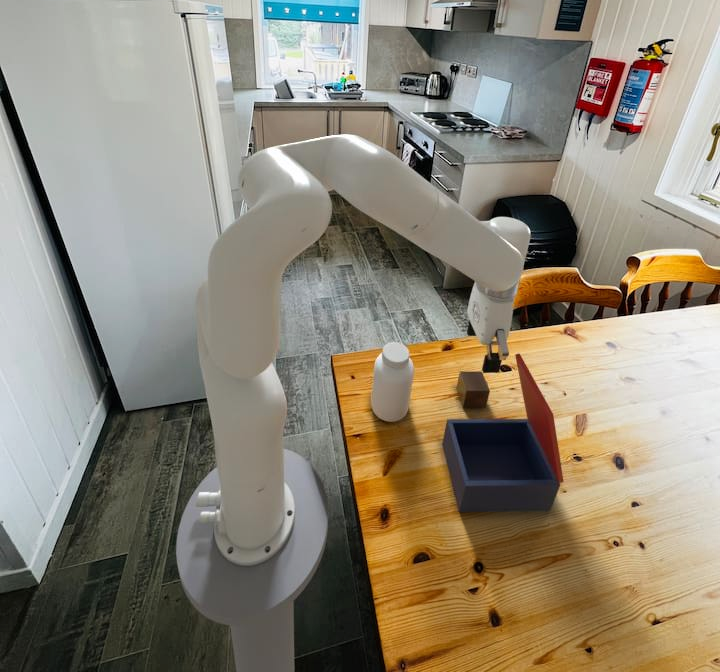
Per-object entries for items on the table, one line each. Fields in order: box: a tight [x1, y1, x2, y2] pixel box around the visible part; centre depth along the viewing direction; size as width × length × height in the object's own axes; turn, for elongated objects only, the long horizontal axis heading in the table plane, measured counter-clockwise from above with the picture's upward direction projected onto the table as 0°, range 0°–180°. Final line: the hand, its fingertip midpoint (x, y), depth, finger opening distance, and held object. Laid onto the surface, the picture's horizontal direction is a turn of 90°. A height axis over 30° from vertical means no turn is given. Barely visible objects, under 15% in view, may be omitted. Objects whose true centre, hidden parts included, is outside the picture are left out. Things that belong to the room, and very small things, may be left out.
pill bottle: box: [370, 341, 415, 423], centre depth 80 cm, size 8×8×15 cm
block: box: [455, 370, 491, 409], centre depth 84 cm, size 5×5×5 cm
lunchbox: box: [442, 418, 561, 513], centre depth 69 cm, size 16×12×7 cm
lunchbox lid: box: [514, 353, 565, 484], centre depth 65 cm, size 16×12×1 cm
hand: (481, 352), depth 80 cm, fingers open, 9 cm apart
